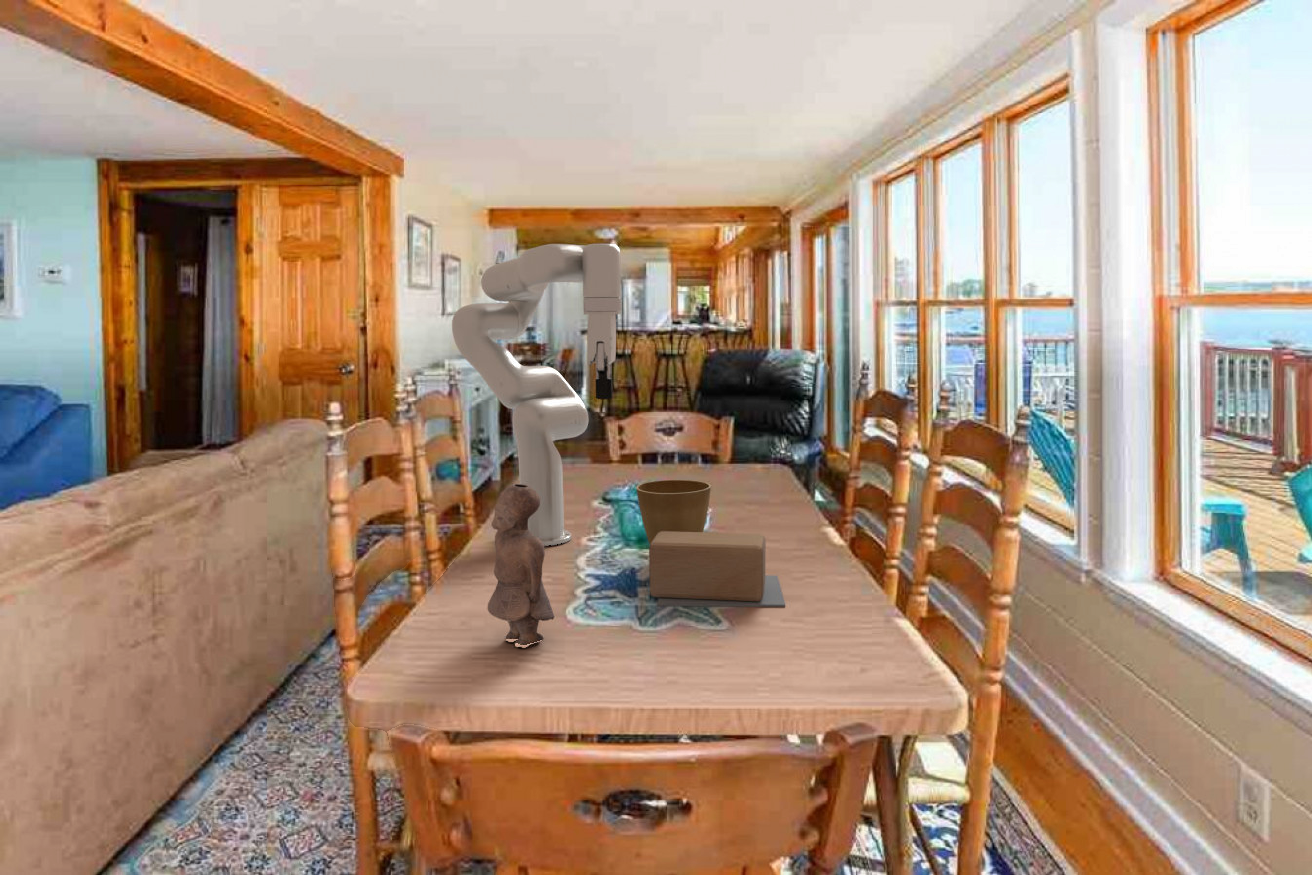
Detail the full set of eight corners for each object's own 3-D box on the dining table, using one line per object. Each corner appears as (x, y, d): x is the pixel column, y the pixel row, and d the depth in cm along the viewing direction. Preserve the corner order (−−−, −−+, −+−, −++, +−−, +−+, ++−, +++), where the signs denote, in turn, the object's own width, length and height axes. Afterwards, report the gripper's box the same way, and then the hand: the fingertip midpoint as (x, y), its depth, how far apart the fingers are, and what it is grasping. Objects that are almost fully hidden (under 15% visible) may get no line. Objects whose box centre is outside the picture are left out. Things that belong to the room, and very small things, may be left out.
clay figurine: (474, 638, 142) (468, 482, 139) (530, 624, 148) (525, 474, 145) (515, 662, 132) (509, 495, 128) (573, 646, 138) (568, 486, 134)
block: (648, 598, 159) (762, 603, 156) (647, 543, 158) (763, 547, 154) (658, 581, 169) (765, 585, 165) (657, 529, 167) (765, 532, 164)
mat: (657, 605, 156) (657, 603, 156) (662, 576, 173) (662, 574, 173) (785, 606, 155) (785, 604, 155) (777, 577, 172) (777, 575, 172)
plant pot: (719, 556, 187) (719, 480, 185) (699, 576, 173) (698, 495, 171) (651, 550, 192) (650, 476, 189) (626, 570, 178) (625, 490, 176)
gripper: (588, 307, 187) (590, 395, 190) (578, 307, 173) (580, 402, 175) (624, 306, 187) (625, 395, 190) (617, 307, 172) (619, 402, 175)
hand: (604, 398), depth 182 cm, fingers closed
